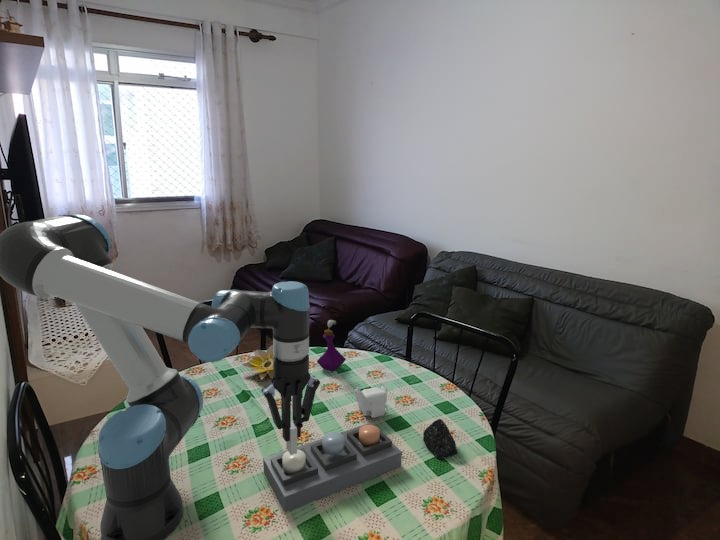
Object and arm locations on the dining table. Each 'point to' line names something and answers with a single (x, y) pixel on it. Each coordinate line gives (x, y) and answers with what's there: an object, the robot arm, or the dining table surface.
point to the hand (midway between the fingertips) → (291, 450)
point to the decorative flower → (262, 363)
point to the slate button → (333, 443)
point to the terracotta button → (369, 435)
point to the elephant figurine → (372, 400)
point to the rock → (439, 440)
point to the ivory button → (294, 462)
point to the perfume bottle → (330, 352)
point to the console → (330, 469)
